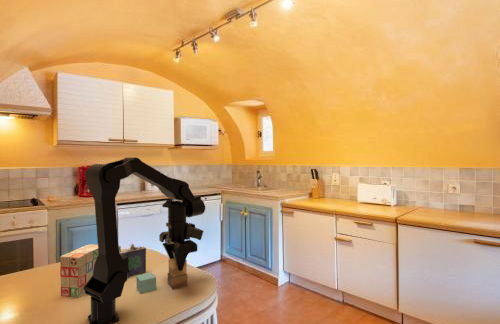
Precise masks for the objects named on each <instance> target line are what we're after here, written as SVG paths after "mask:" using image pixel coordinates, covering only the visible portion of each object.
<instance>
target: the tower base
mask: <svg viewBox="0 0 500 324" xmlns="http://www.w3.org/2000/svg"><path fill="white" fill-rule="evenodd" d="M135 276H136V278H135V279H136V289H137V292H139V294H145V293H147V292H148V293H149V292H153V291H157V276H156V275H155V274H154V273H153V272H146V273H142V274H138V275H135Z"/></svg>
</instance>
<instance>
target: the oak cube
mask: <svg viewBox="0 0 500 324" xmlns="http://www.w3.org/2000/svg"><path fill="white" fill-rule="evenodd" d="M187 266H188V264H187V259H186V260H185V264H184V267H183V270H182V271H179V270H178V267H177V264H176V261H175V259H174V258H172V259H170V258H168V273H170V274H171V275H172V276H173V277H175V276H179V275H183V274H187V275H188V273H187V272H188V270H187V269H188V268H187Z"/></svg>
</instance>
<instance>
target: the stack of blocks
mask: <svg viewBox="0 0 500 324" xmlns="http://www.w3.org/2000/svg"><path fill="white" fill-rule="evenodd" d="M121 249H122V247H121V245H119V253H120V252H122V250H121ZM98 253H99V252H98V244H86V245H84V246H82V247H79V248H77V249H75V250H72V251H70V252H68V253H64V254H63V255H60V260H59V261H60V268H59V269H60V270H59V272H60V273H59V274H60V296H61V297H69V298H81V297H83V296H84V295H86V294H85V291H84V289H83V288H84V286H85V285H86V284H87V282H88V281H89V280H90V278H91V277H92V276H93V272H94V264H95V262H96V259H97V257H98Z"/></svg>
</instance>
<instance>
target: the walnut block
mask: <svg viewBox="0 0 500 324" xmlns="http://www.w3.org/2000/svg"><path fill="white" fill-rule="evenodd" d="M167 285H168V286H169V287H170V289H171V290H177V289H180V288H181V289H182V288H185V287H188V273H187V274H183V275H179V276H175V277H173V276H172V275H171V274H170V273H169V272H167Z"/></svg>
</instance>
